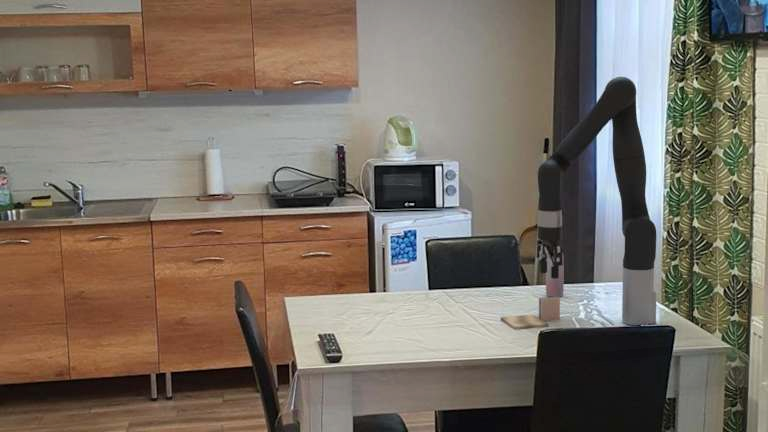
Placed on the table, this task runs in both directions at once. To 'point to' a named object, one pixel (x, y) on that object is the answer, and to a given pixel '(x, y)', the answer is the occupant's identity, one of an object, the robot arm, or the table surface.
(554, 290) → the beverage can
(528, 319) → the tan wavy tile
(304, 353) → the table surface
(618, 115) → the robot arm
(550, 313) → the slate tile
